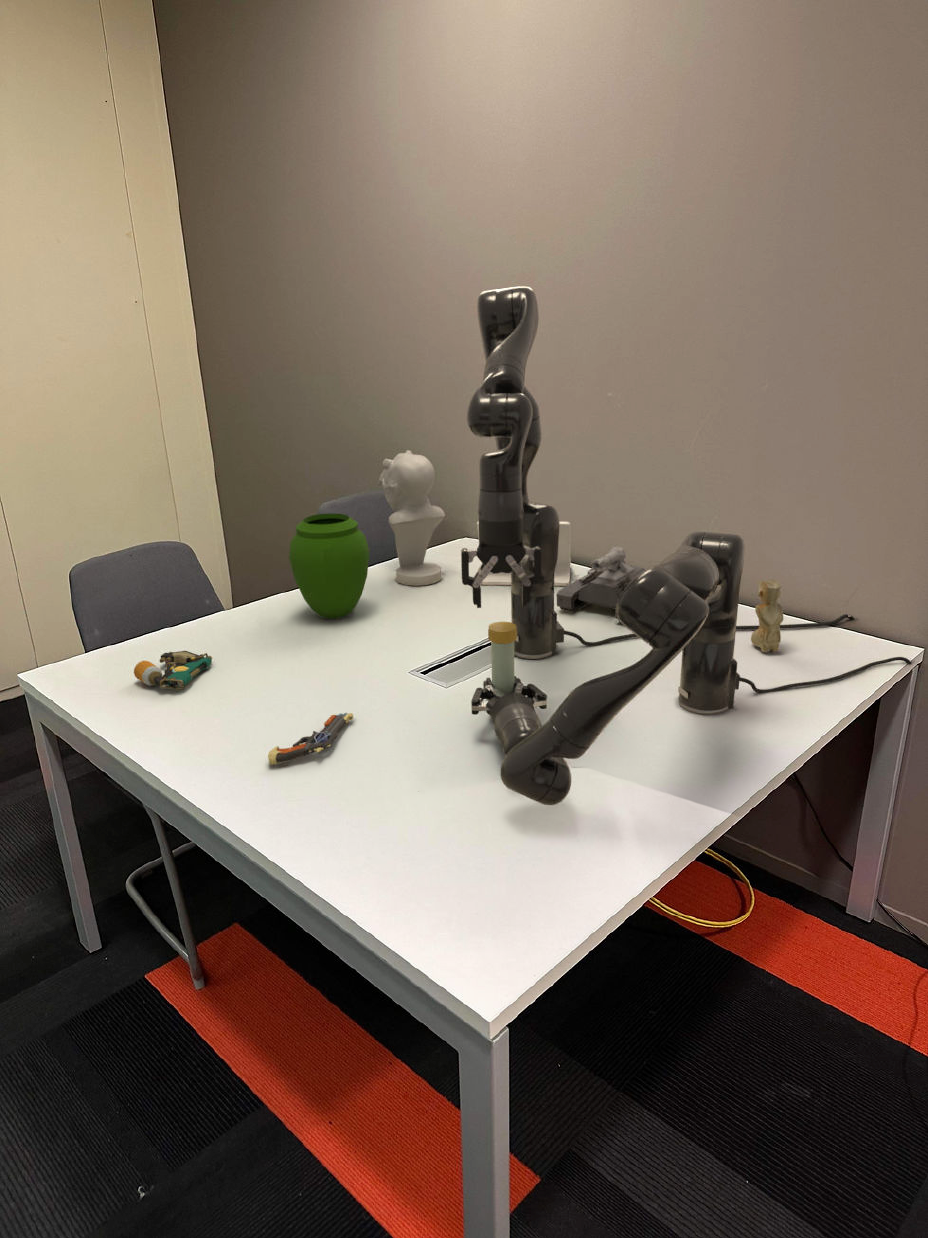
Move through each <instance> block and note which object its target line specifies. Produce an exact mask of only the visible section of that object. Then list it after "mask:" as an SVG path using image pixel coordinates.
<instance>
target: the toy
mask: <svg viewBox="0 0 928 1238" xmlns="http://www.w3.org/2000/svg"><path fill="white" fill-rule="evenodd" d="M626 557H627V556H626V551H625V549H624V548H622V547H621V546H614V547H612V548H611V549H610V550H609V552H608V553H607V554H605V555H604V556H601V557H599V558H598V559H597V557H596V558H594V559H593V560H592V561H590V562H589V563H590V564H591V565H592V567H591V568H590V569H589V570H587V573H586V575H584V576H582V577H580V578H578V579H577V580H575V581H573V582H570V583H569V585H567V586H563V587H562V588H560V589H559V590H558V591H557V592H556V607H558V608H559V609H560V610H562V611H566V612H572V613H575V612H577V611H579V610H581V609H582V608H585V607H586V606H588V605H592V606H598V607H602V608H603V607H604V608H609V609H613V610H614V618H615V619H617V620H618V621H620V620H619V619H618V617H617V614H616V606H617V602H618V599H619V597H620V595H621V593H622V592H623V590H624V589H625V588H626V586H627V585H628V584H629V583H630V582H631V581H632V580H633V579H634V578H635V577H636V576H637V575H639V574H640V573H641V572H643V571H644V570H646V568H644V567H641V566H635V565H629V564H628V563H627V562H626V561H625V559H626Z"/></svg>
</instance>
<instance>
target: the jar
mask: <svg viewBox="0 0 928 1238" xmlns="http://www.w3.org/2000/svg"><path fill="white" fill-rule="evenodd" d="M490 653H491V655H490V656H491V659H490V660H491V661H490V662H491V682H492V684H493V688H494V689H495V688H497V689H498V690H499V691H500V692H501V693H512V692H514V691H515V676H516V675H515V655H514V642H512V643H507V644H498V643H493V642H491V641H490Z"/></svg>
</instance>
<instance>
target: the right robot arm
mask: <svg viewBox="0 0 928 1238" xmlns="http://www.w3.org/2000/svg"><path fill="white" fill-rule="evenodd" d="M745 551H746V547H745V541H744V539H743V537H742V536H741V535H738V534H733V533H720V532H709V531H694V532H691V533H689V534H688V535H687V536H686V537H685V538H684V539H683V541H682V542H681V544H680V545H679V547H678V548H677V549H676V550H675V551H674V552H672V553H670V554H669V555H668V556H666V557H665V558H664V559H662V561H661V562H660V563H659V564H655V565H652V566H651V567H648V568H645V570H644V571H643V572H641V573H640V574H639V575H637V576H636V577H635V578H634V579H633V580H632V581H631V582H630V583H629V584H628V585H627V586H626V588H625V589H624V590H623V592H622V593H621V595H620V597H619V599H618V602H617V606H616V614H617V617H618V619H619V620H618V619H617V620H618V621H620V623H621V624H622V625H623V626H624V627H626V628H627V629H628V630H630V631H631V632H632V634H636V635H637V636H638V637H637V638H639V639H640V640H641V641H643V642H644V643H646V644H648V646H650V648H651V650H649V652H648V653H646V655H645V656H643V657H642V658H641V659H639V660H638V661H636V662H635V663H633V664H631V665H629V666H627V667H625V668H622V669H619V670H616V671H613V672H611V673H608V674H605V675H601V676H599V677H595V678H592V679H589V680H587V681H585V682H583V683H582V684H580V685H578V686H576V687H575V688H574V689H572V690H571V691H570V692H569V693H568V695H567V696H566V697H565V698H564V700H562V702H561V704H560V705H559V706H558V707H557V709H556V710H555V711H554V712H553V714H552V715H551V716H550V718H549V719H548V720H547V721H546V722H545V723H544V724H542V723H541V720H540V718H539V715H538V713H537V711H536V709H535V708H539V709H540V710H546V709H547V708H548V695H547V694H546V693H545V692H544V691H542V690H541V689H540V688H538V687H537V686H536V685H535V684H533V683H527V685H524V683H523V682H522V679H520V678H519V677H517V675H514V676H515V691H514V692H512V693H501V692H500V691H499V690H498V689H497V688H495V689H494V688H493V684H492V678H491V677H486V678H485V680H483V682H482V683H483V684H482V686H483V687H476V688H475V691H474V693H473V695H472V697H471V701H470V702H471V703H470V704H471V715H474V716H475V715H478V714H479V713H480V712H486V714H487V715H488V716H490V719H491V722H492V725H493V728H494V733H495V736H496V737H497V740H498V741H499V743H500V745H501V747H502V750H503V753H504V758H503V760H502V763H501V766H500V772H499V773H500V775H499V776H500V779H501V782H502V784H503V785H504V786H505V787H506V788H507V789H508V790H511V791H512V792H515V793H517V794H519V795H521V796H524V797H526V798H527V799H530V800H532V801H535V802H537V803H539V804H541V805H545V806H555V805H558V804H560V803H562V802H563V801H564V800H565V799H566V798H567V796H568V795H569V792H570V790H571V786H572V773H571V768H570V766H569V764H568V762H567V761H566V760H565V759H568V760H569V759H570V760H577V759H580V758H581V757H583V756H584V755H585V754H586V752H587V751H588V750H589V749H590V748H591V747H592V746H593V744H594V743H595V741H596V740H597V739H598V738H599V736H600V735H601V734H602V733H603V732H604V731H605V729H606V728H607V727H608V725H610V723H611V722H612V721H613V720H614V718H615V717H617V716H618V714H620V712H621V711H622V710H623V709H624V708H625V707H626V706H627V705H629V704H630V703H631V701H633V700H634V699H635V698H636V697H637V696H638V695H639V694H641V692H642V691H644V689H645V688H647V686H648V685H650V684H651V683H652V682H653V680H655V679H656V678H657V677H658V676H659V675H660V674H661V673H662V671H663V670H664V669H666V668H667V666H669V665H670V664H671V663H672V662H673V660H675V658H676V657H677V656H678V655H679V654H680V653H681V664H680V676H679V677H680V678H679V686H678V691H677V692H678V700H677V701H678V704H679V705H680V707H681V708H683V709H685V710H687V711H688V712H692V713H695V714H701V715H717V714H722V713H724V712H726V711H728V710H731V709H732V710H733V709H734V706H735V694H736V691H737V690H739V689H740V682H741V683H745V684H747V685H748V686H750V687H751V689H752V690H753V691H754V692H755V693H758V694H767V693H774V692H780V691H783V690H787V689H791V688H798V687H799V688H800V687H807V686H814V685H821V684H826V683H831V682H835V681H838V680H842V679H844V678H847V677H849V676H852V675H855V674H857V673H860V672H862V671H866V670H867V669H870V668H872V667H875V666H879V665H885V664H888V663H892V662H895V661H902V662H905V663H906V664H908V665H911V664H912V662H911V660H909V658H907V657H905V656H894V657H890V658H886V659H882V660H881V659H880V660H877V661H873V662H870V663H868V664H865V665H863V666H860V667H858V668H855V669H853V670H849V671H847V672H844V673H842V674H839V675H836V676H832V677H829V678H824V679H823V678H822V679H818V680H809V681H802V682H795V683H789V684H785V685H781V686H777V687H774V688H768V689H767V688H766V689H761V688H757V687H756V685H755V683H754V682H753V680H750V679H747V678H745V677H741V675H740V674H739V672H737V670H738V661H737V660H736V659H735V658H734V657H735V656H734V655H735V646H736V645H735V644H736V633H737V630H736V626H737V623H738V622H737V621H738V612H739V611H738V610H739V599H740V590H741V582H742V574H743V569H744V563H745V557H746V556H745V554H746V552H745ZM718 587H720V589H718ZM717 589H718V590H717ZM716 590H717V591H716ZM484 700H486V701H487V702H486V703H485V702H484Z"/></svg>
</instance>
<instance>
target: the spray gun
mask: <svg viewBox="0 0 928 1238" xmlns="http://www.w3.org/2000/svg"><path fill="white" fill-rule="evenodd" d="M212 660H213V657H212V656H211V655H208V653H207V652H205V653H201V654H197V653H194V652H192V651H191V652H190V651H188V650H180V651H169V652H164V653H162V654H161V655H160V658H159V660H158V662H159V663H161V664H163V663H165V664H166V668H165V670H163V672H164V674H163V673H162V669H160V668H159V666H157V665H156V664H154V663H152V662H151V661H149V660H141V661H139V662H138V663H136V665H135V666H134V668H133V675H134V677H135V678H136V679H137V680H139V681H140V682H142V683H143V684H145V685H147V686H155V685H157V686H158V687H160V688H161V689H171V690H172V689H173V690H182V689H184V687H185V686H186V685H188V684H189V683H190V682H191V681H192V679H193V678H195V677H196V676H197V675H198V674H200V673H201V672H202V671H203V670H206V669H208V668H209V667H210V666H211V665H212V662H213V661H212ZM178 663H179V664H181V665H179V666H176V665H177V664H178Z"/></svg>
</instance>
